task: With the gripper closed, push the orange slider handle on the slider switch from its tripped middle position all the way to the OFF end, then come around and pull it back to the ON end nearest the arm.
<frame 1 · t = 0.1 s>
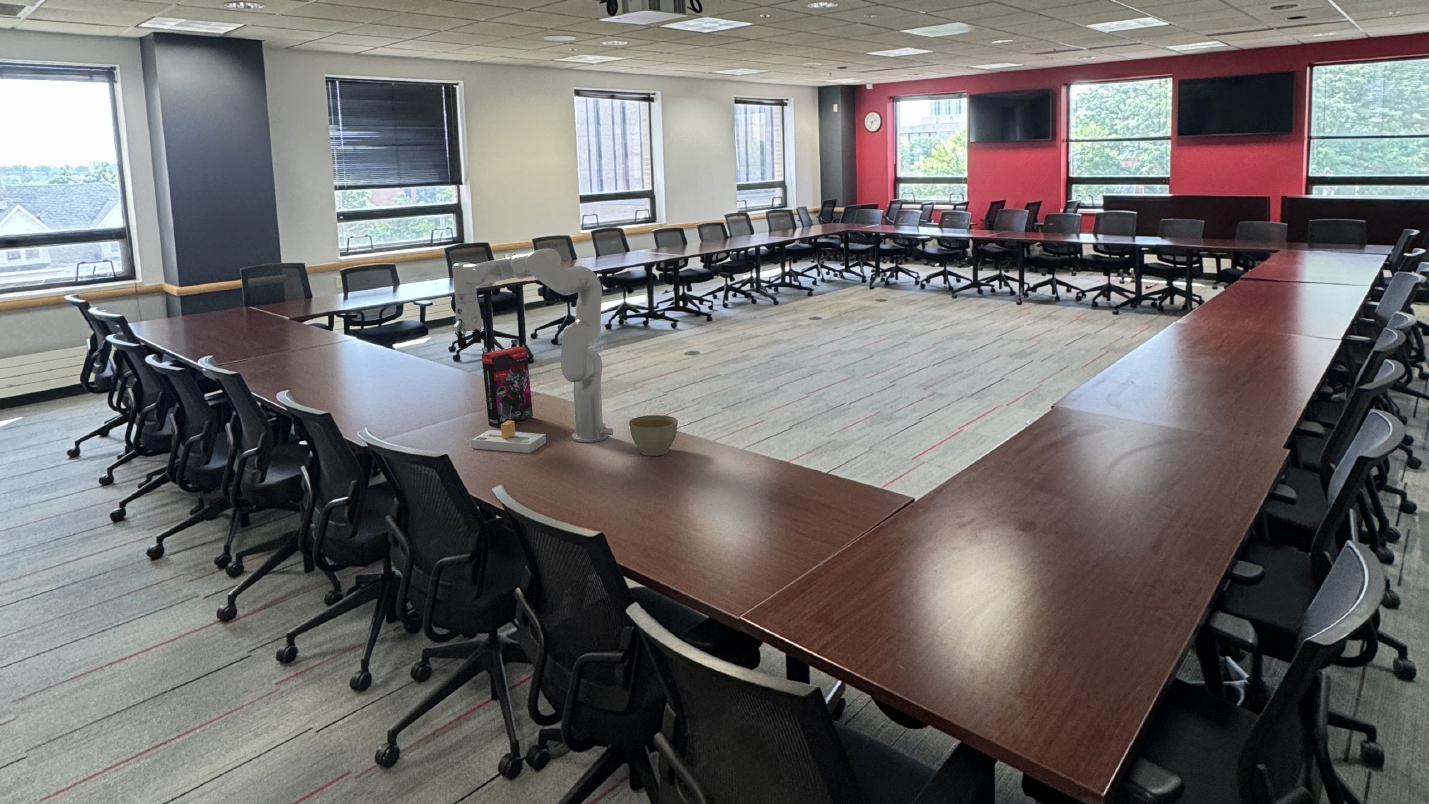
hand: (470, 345, 328), 31 cm above the table, tool pointing down, fingers open, 9 cm apart
slider switch: (509, 445, 316), on the table
graphics card box: (510, 421, 345), on the table
orange slider handle: (508, 432, 315), point 5 cm above the table, slide at 0.0 cm
planter bowl: (654, 452, 306), on the table
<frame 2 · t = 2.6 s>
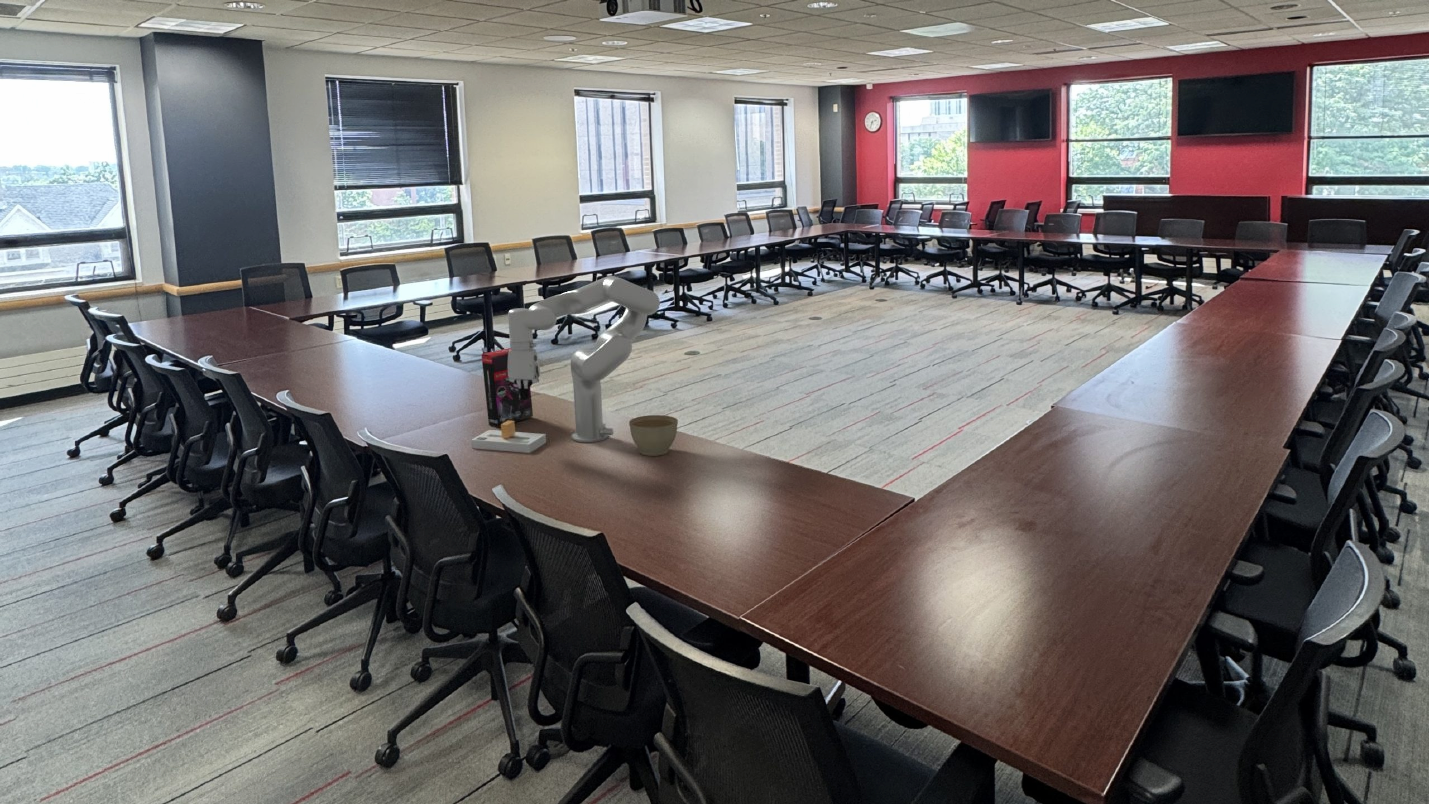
hand: (525, 399, 310), 17 cm above the table, tool pointing down, fingers closed
nothing on the table moved.
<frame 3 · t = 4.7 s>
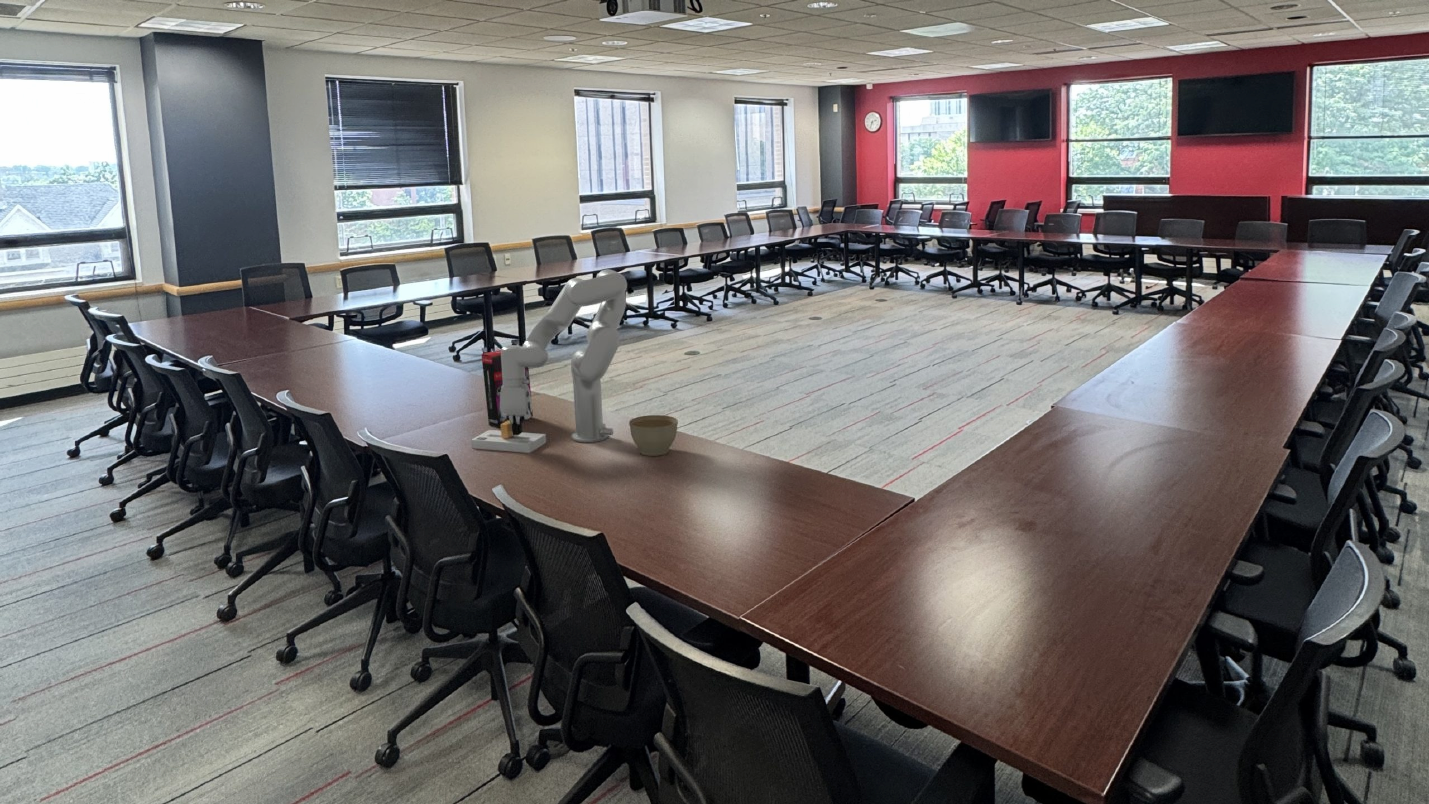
hand: (517, 434, 314), 4 cm above the table, tool pointing down, fingers closed
orange slider handle: (508, 432, 315), point 5 cm above the table, slide at 0.1 cm, touching gripper
everything else where it was.
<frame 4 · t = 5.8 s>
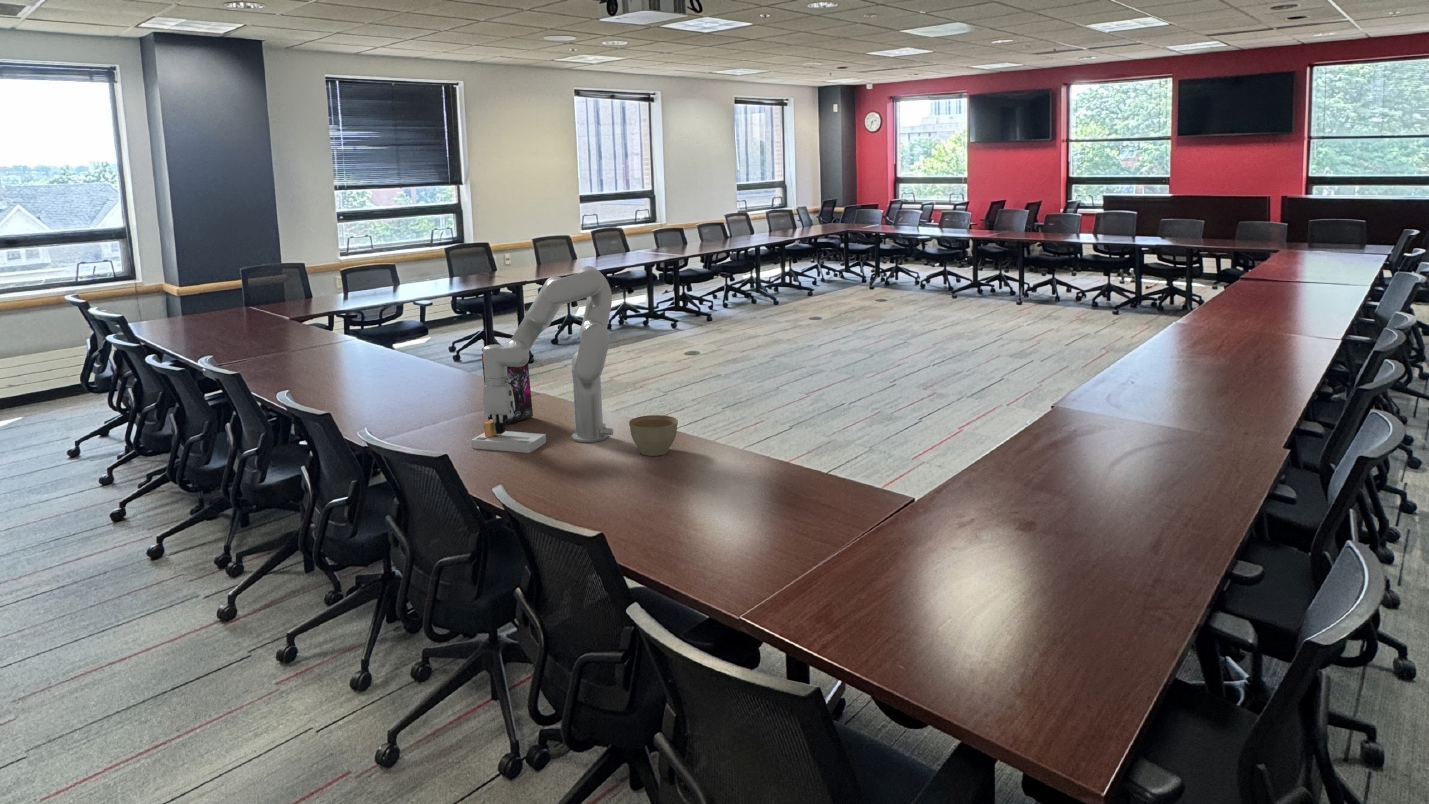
hand: (500, 432, 316), 4 cm above the table, tool pointing down, fingers closed
orange slider handle: (491, 431, 317), point 5 cm above the table, slide at 6.5 cm, touching slider switch, gripper
everything else where it was.
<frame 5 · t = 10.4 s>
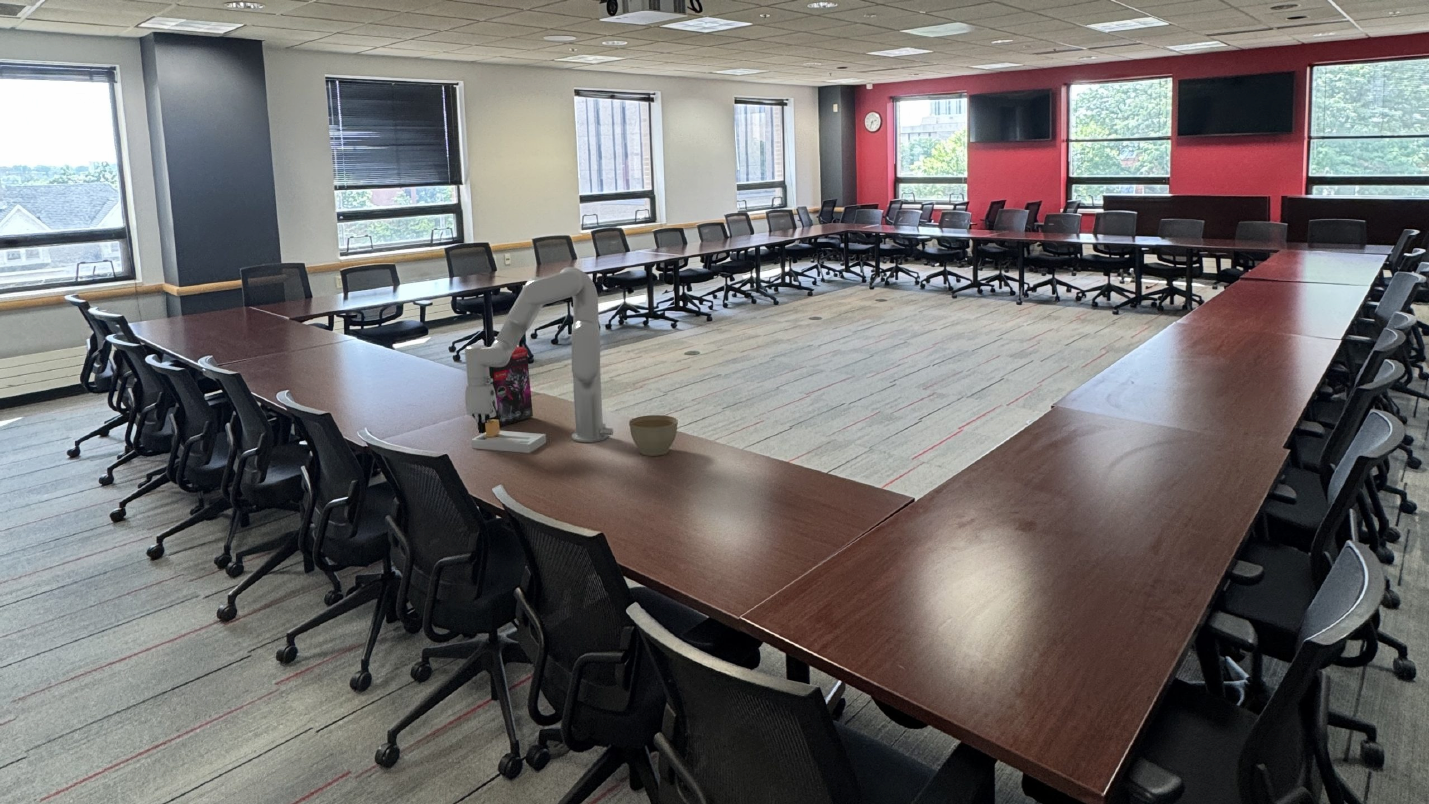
hand: (483, 432, 318), 4 cm above the table, tool pointing down, fingers closed
orange slider handle: (492, 431, 317), point 5 cm above the table, slide at 6.0 cm, touching gripper
everything else where it was.
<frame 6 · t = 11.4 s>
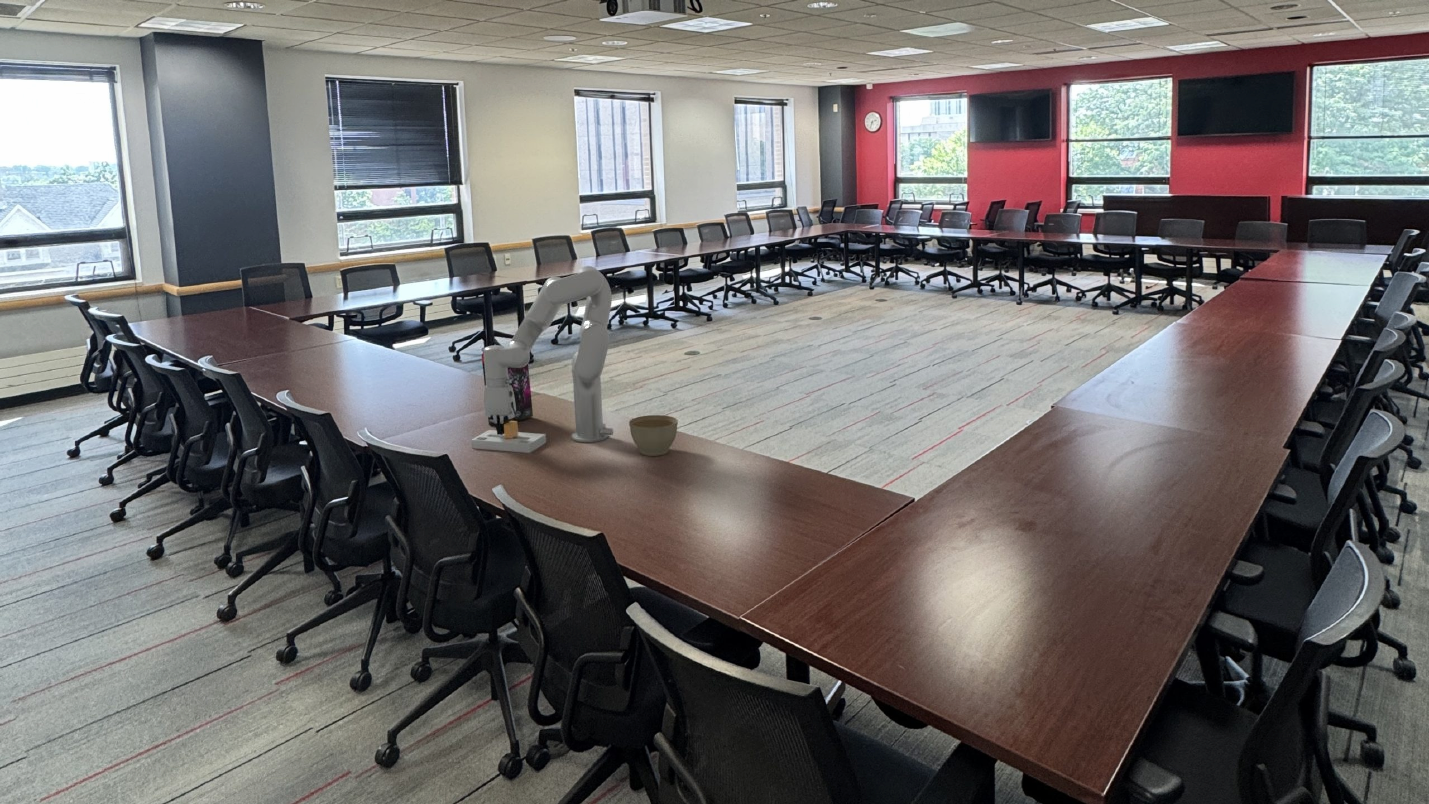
hand: (501, 433, 316), 4 cm above the table, tool pointing down, fingers closed
orange slider handle: (511, 432, 315), point 5 cm above the table, slide at -1.1 cm, touching gripper
everything else where it was.
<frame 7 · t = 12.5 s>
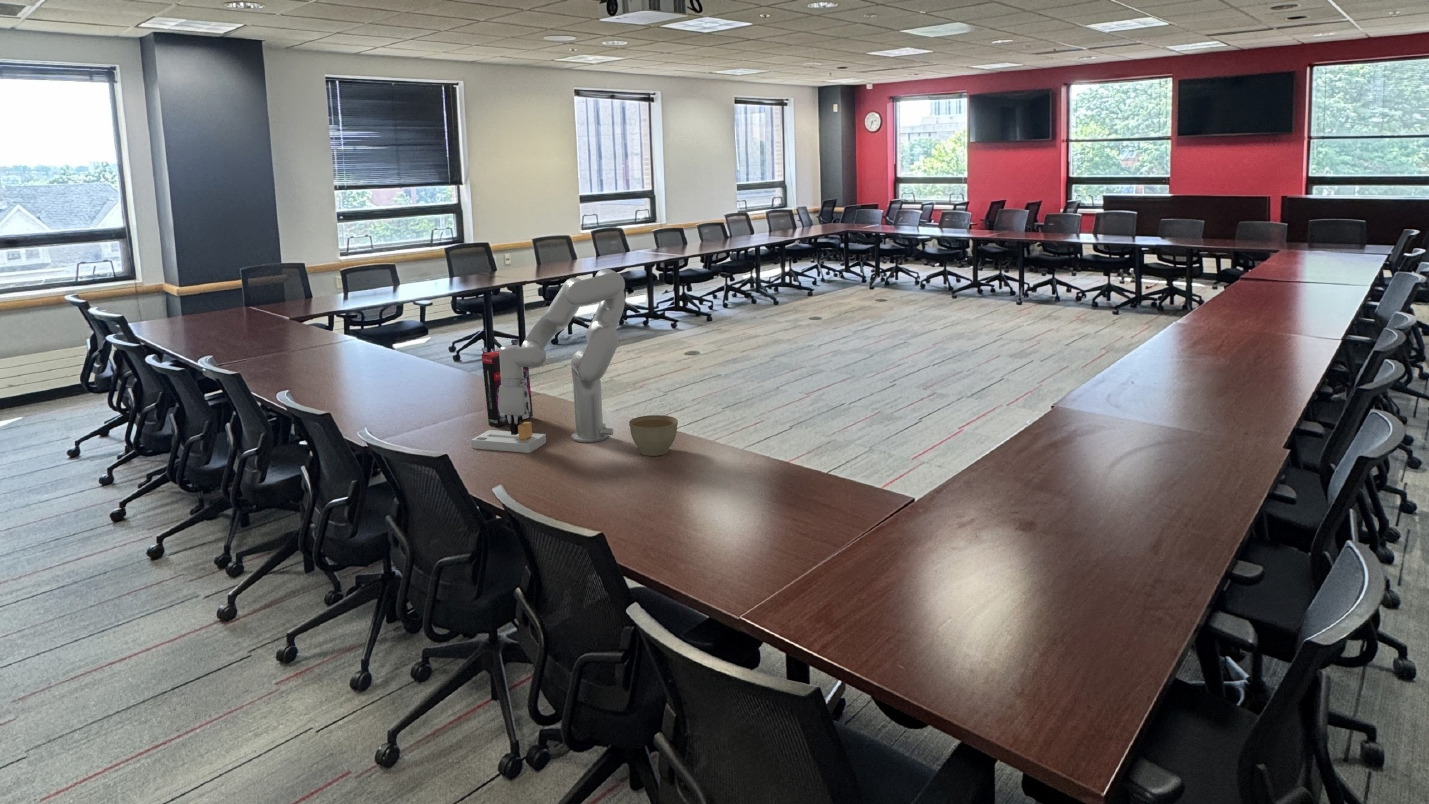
hand: (515, 433, 314), 4 cm above the table, tool pointing down, fingers closed
orange slider handle: (525, 433, 313), point 5 cm above the table, slide at -6.5 cm, touching slider switch, gripper
everything else where it was.
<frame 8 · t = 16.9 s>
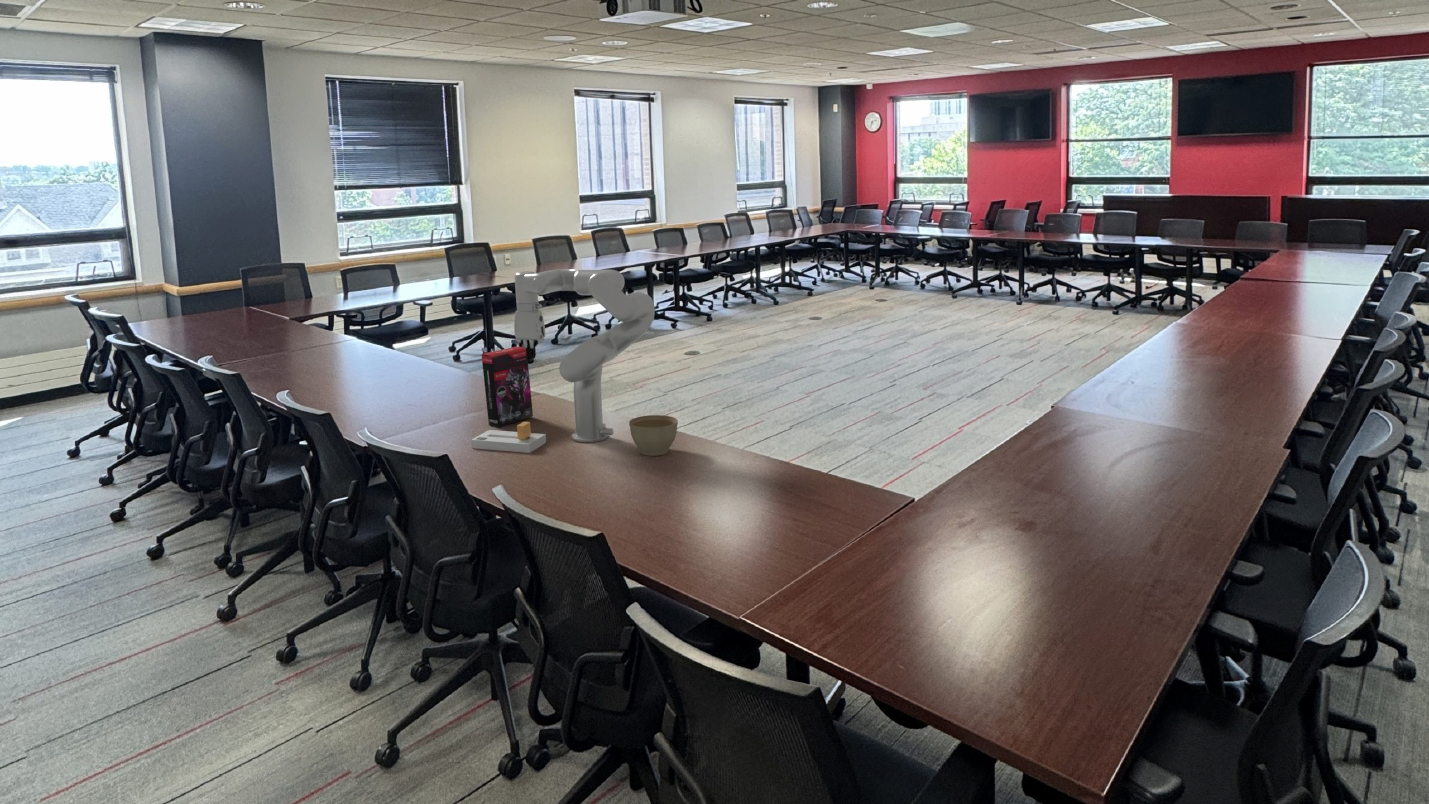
hand: (531, 358, 325), 27 cm above the table, tool pointing down, fingers closed
orange slider handle: (524, 433, 313), point 5 cm above the table, slide at -6.1 cm
everything else where it was.
at the end: orange slider handle slide at -6.1 cm; graphics card box moved 0.3 cm from its start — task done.
